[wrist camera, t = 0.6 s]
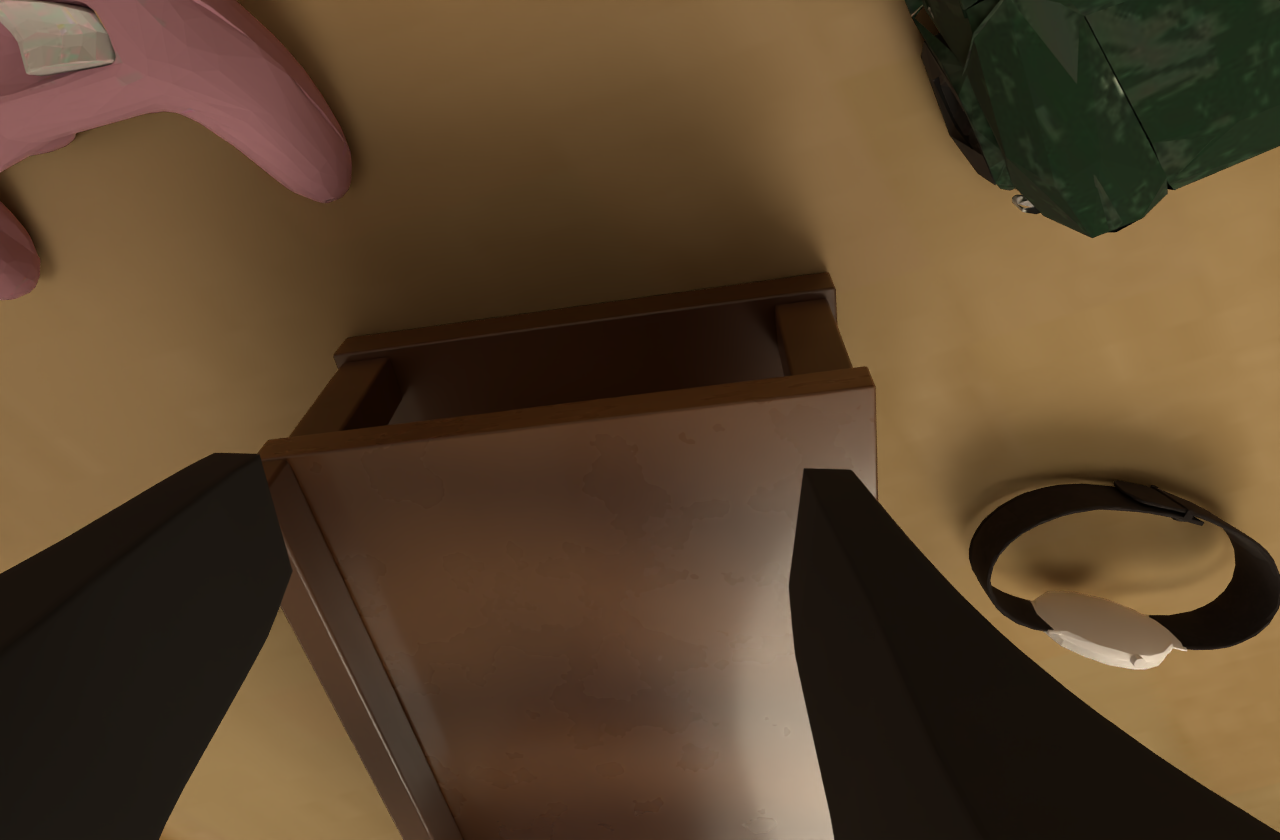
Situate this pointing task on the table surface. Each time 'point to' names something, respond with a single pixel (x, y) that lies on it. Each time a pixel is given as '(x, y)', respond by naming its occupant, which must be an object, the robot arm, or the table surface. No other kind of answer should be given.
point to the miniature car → (1104, 96)
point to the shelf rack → (575, 561)
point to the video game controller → (156, 93)
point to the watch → (1113, 626)
